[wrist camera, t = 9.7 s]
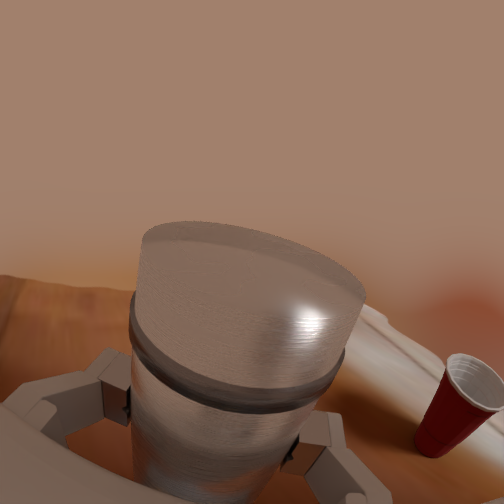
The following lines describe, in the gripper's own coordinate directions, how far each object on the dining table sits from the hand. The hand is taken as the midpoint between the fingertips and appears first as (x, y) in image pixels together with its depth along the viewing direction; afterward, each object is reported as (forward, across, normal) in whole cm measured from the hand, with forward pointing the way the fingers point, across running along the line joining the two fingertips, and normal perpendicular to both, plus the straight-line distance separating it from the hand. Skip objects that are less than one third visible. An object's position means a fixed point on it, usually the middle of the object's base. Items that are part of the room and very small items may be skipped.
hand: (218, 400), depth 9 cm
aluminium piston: (-1, 0, +7) cm, 7 cm away
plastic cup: (+16, -29, +19) cm, 38 cm away
